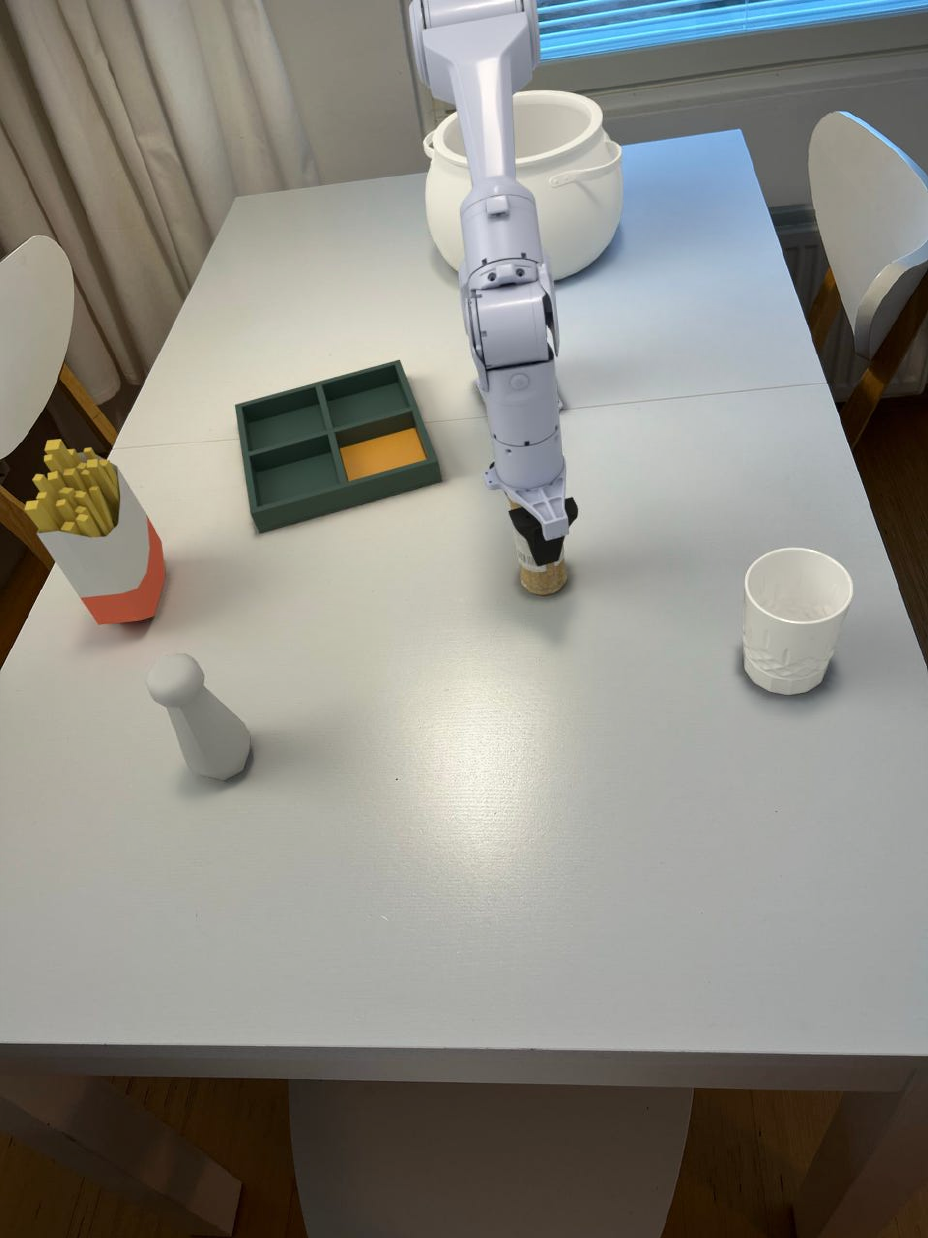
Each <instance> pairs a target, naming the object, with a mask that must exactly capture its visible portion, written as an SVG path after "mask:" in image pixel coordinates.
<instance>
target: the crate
mask: <svg viewBox="0 0 928 1238" xmlns="http://www.w3.org/2000/svg"><path fill="white" fill-rule="evenodd" d="M234 411H235V417H236V423H237V429H238V436H239V443H240V451H241V457H242V465H243V472H244V478H245V485H246V491H247V492H246V493H247V498H248V506H249V512H250V516H251V518H252V520H253V522H254V525H255V527H256V529H257V532H258V533H259V534H262V533H266V532H268V531H273V530H275V529H276V530H277V529H279V528H283V527H287V526H291V525H294V524H297V523H301V522H305V521H308V520H312V519H314V518H318V517H321V516H326V515H329V514H332V513H336V512H340V511H343V510H346V509H350V508H354V507H357V506H361V505H364V504H365V505H366V504H368V503H372V502H375V501H378V500H382V499H386V498H389V497H393V496H396V495H399V494H403V493H406V492H410V491H414V490H417V489H422V488H424V487H429V486H432V485H435V484H439V483H441V482H443V478H442V473H441V467H440V463H439V459H438V456H437V454H436V452H435V449H434V446H433V443H432V440H431V438H430V436H429V433H428V430H427V428H426V424H425V422H424V420H423V417H422V415H421V411H420V409H419V406H418V403H417V401H416V399H415V396H414V393H413V390H412V388H411V385H410V383H409V380H408V377H407V374H406V371H405V369H404V366H403V364H402V361H401V360H400V359H396V360H393V361H389V362H385V363H382V364H378V365H374V366H370V367H367V368H364V369H363V368H362V369H359V370H356V371H353V372H349V373H345V374H341V375H338V376H334V377H330V378H327V379H323V380H320V381H316V382H313V383H309V384H305V385H301V386H297V387H294V388H291V389H286V390H283V391H280V392H276V393H272V394H269V395H265V396H262V397H258V398H255V399H251V400H246V401H243V402H239V403H236V404H234Z"/></svg>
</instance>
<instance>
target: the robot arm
mask: <svg viewBox="0 0 928 1238" xmlns="http://www.w3.org/2000/svg"><path fill="white" fill-rule="evenodd" d="M408 16H409V24H410V31H411V32H410V33H411V38H412V39H411V40H412V46H413V53H414V58H415V63H416V64H415V65H416V69H417V73H418V77H419V81H420V82H421V83H422V84H423V85H425V87H426V89H428V90H429V89H430V92H431V96H432V98H434V99H436V100H438V101H442V102H444V103H447V104H450V105H453V106H455V110H456V111H457V115H458V119H459V124H460V129H461V134H462V138H463V143H464V148H465V153H466V157H467V162H468V167H469V171H470V177H471V184H472V190H471V191H470V192H469V194H468V195H467V196H466V198H465V199H464V200H463V202H462V204H461V207H460V219H461V227H462V235H463V244H464V252H465V259H464V260H463V261H462V262H461V264H460V269H459V271H457V273H458V283H459V299H460V305H461V311H462V320H463V324H464V330H465V335H466V336H467V337H468V343H469V348H470V354H471V358H472V360H473V363H474V365H475V368H476V372H477V375H478V378H476V379H475V385H476V387H477V389H478V391H479V394H480V396H481V398H482V400H483V402H484V404H485V410H486V415H487V421H488V428H489V434H490V441H491V448H492V453H493V459H494V460H493V461H492V462H491V464H490V465H489V469H486V470H484V471H483V472H482V479H483V482H484V485H485V487H486V489H487V490H488V491H496V490H502V491H503V492H504V494H505V496H506V498H507V499H508V503H510V500H509V498H508V496H507V494H508V495H509V496H511V497H512V498H513V499H514V500H515V501H517V502H518V503H519V504H520V505H521V506H522V507H520V508H516V509H513V510H511V509H510V510H508V516H509V518H510V521H511V524H512V523H513V525H514V527H515V528H516V530H517V531H518V533H519V534H521V535H522V536H523V537H524V538H525V539H526V541H527V543H528V546H529V549H530V552H531V554H532V557H533V559H534V561H535V563H536V565H537V566H543V565H546V564H550V563H553V562H557V561H558V560H559V558H560V554H561V550H562V546H563V547H564V542H565V538H566V536H568V535H570V527H571V525H572V524H573V523H574V522H575V521H576V520H577V518H578V516H579V506H578V505H577V501H576V500H575V498H574V497H573V496H570V497H567V498H566V489H567V487H566V485H567V483H566V482H567V461H566V458H565V455H564V454H563V442H562V430H561V419H560V410H562V409H563V408H564V404H563V402H562V400H561V399H560V396H559V394H558V383H557V372H556V360H555V357H556V358H559V352H560V343H561V342H560V328H559V317H558V309H557V298H556V290H555V289H556V288H555V281H553V275H552V270H551V263H550V258H549V256H548V255H547V254H546V251H545V249H543V248H542V247H541V240H540V232H539V224H538V216H537V209H536V201H535V198H534V196H533V194H532V192H531V191H530V190H529V189H527V188H526V187H525V186H523V185H522V184H520V183H519V182H518V181H517V180H516V164H515V141H514V118H513V95H514V94H515V93H517V92H520V90H522V89H523V88H524V87H526V86H527V85H528V84H530V83H531V82H532V81H533V71H535V70H536V68H537V66H538V64H539V63H540V61H541V55H542V54H541V53H542V51H541V35H540V24H539V13H538V3H537V0H412V1H411V2H410V4H409V6H408ZM548 329H549V331H550V333H551V336H552V344H553V348H552V347H551V344H550V343H549V342H548ZM553 349H554V350H553ZM513 525H512V526H513Z"/></svg>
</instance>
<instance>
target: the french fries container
mask: <svg viewBox="0 0 928 1238" xmlns="http://www.w3.org/2000/svg"><path fill="white" fill-rule="evenodd" d="M44 452H45V455H44V456H43V462H44V464H45V465H46V466H47V468H48V470H49V471H50V472H48V473H47V477H46V476H45V474H41V473H36V474H35V475H34V477H33V478H32V482H33V483H34V485H35V486H36V488H37V490H38V491H39V492H38V493H37V495H36V497H35V499H36V500H26V503H25V506H24V512H25V513H26V514H27V516H28V517H29V518H30V520H31V521H32V522H33V524H34V525H35V526H36V528H37V530H36V535H37V537H38V538H39V540H40V541H41V543H42V545H44V547H45V549H46V550H47V551H48V553H49V554H50V556H51V558H52V559H53V561H54V562H55V563H56V565H57V566H58V567H59V569H60V570H61V572H62V573H63V575H64V576H65V578H66V579H67V581H68V583H70V585H71V587H72V588H73V590H74V591H75V592H76V594H77V596H78V597H79V598H80V600H81V602H82V603H83V604H84V606H85V607H86V609H87V610H88V612H89V614H91V616H92V617H93V619H94V620H95V622H96V624H97V625H98V626H101V625H112V624H120V623H121V624H122V623H129V622H139V621H142V620H146V619H149V618H153V617H155V616H156V613H157V610H158V606H159V602H160V598H161V595H162V591H163V588H164V583H165V581H166V571H165V569H166V568H165V560H164V552H163V551H164V549H163V543H162V540H161V538H160V536H159V534H158V532H157V531H156V528H155V527H154V525H153V523H152V521H151V520H150V518H149V515H148V513H146V511H145V509H144V508H143V506H142V504H141V503H140V501H139V500H138V497H137V496H136V494H135V493H134V491H133V490H132V489H131V487H130V485H129V483H128V482H127V480H126V478H125V477H124V474H123V473H122V471H121V470H120V468H119V467H118V465H116V464H114V463H112V462H111V460H110V459H105V458H103V457H102V456H99V455H98V454H96V453H95V452H94V449H93V448H92V447H84V449H83V452H82V451H81V452H77V450H76V449H75V448H67V446H66V444H64V442H63V440H62V439H61V438H60V439H59V438H58V439H49V440H48V439H47V441H46V444H45V447H44Z"/></svg>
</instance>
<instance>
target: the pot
mask: <svg viewBox="0 0 928 1238" xmlns="http://www.w3.org/2000/svg"><path fill="white" fill-rule="evenodd" d="M603 115H604V114H603V111H602V108H601V106H600V105H599V104H598V103H597V102H595V101H594V100H593V99H590V98H588V97H587V96H585V95H582V94H579V93H574V92H570V91H563V90H553V89H552V90H550V89H539V90H535V89H534V90H525V91H518V92H517V93H515V94H514V95H513V118H514V141H515V164H516V180H517V181H518V182H519V183H520V184H522V185H523V186H525V187H526V188H527V189H529V190H530V191H531V192H532V194H533V196H534V198H535V201H536V209H537V216H538V224H539V232H540V240H541V247H542V248H543V249H545V251H546V254H547V255H548V256H549V258H550V263H551V270H552V275H553V281H554V282H555V281H559V280H562V279H565V278H567V277H569V276H572V275H574V274H577V273H578V272H580V271H582V270H584V269H586V268H587V267H588V266H590V265H591V264H592V263H594V262H595V261H596V260H597V259H598V258H599V257H600V256H601V255H602V254H603V252H604V251H605V250H606V248H607V247H609V245H610V243H611V242H612V241H613V238H614V236H615V233H616V230H617V228H618V227H619V223H620V221H621V217H622V211H623V208H624V175H623V168H622V164H623V163H622V162H623V149H622V147H621V145H620V144H618V143H617V142H616V141H613V140H611V138H610V136H609V134H608V133H607V131H606V130H605V129H604V128H603V119H604V117H603ZM431 144H432V146H433V148H432V147H430V145H431ZM422 145H423V150H424V153H425V155H426V156H427V157H428V158H430V159H431V161H430V166H429V169H428V173H427V176H426V179H425V192H424V199H425V200H424V201H425V211H426V212H425V213H426V219H427V223H428V229H429V233H430V235H431V237H432V239H433V241H434V244H435V245H436V247H437V249H438V251H439V253H440V254H441V256H442V258H443V259H444V260H445V261H446V263H447V264H449V266H450V267H452V268H453V269H454V270H455V271H456V272H458V271H459V269H460V264H461V262H462V261H463V260H464V259H465V252H464V244H463V235H462V227H461V219H460V207H461V204H462V202H463V200H464V199H465V198H466V196H467V195H468V194H469V192H470V191H471V190H472V184H471V177H470V171H469V167H468V162H467V157H466V153H465V148H464V143H463V138H462V134H461V129H460V124H459V119H458V115H457V110H456V111H454V112H453V113H452V114H450V115H448V116H447V117H446V118H445V119H444V120H442V121H441V122H440V123H439V124H438V126H437V127H436V128H435V129H434V130H432V131H430V133H428V134H427V135H426V136H425V137H424V139H423V143H422Z"/></svg>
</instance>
